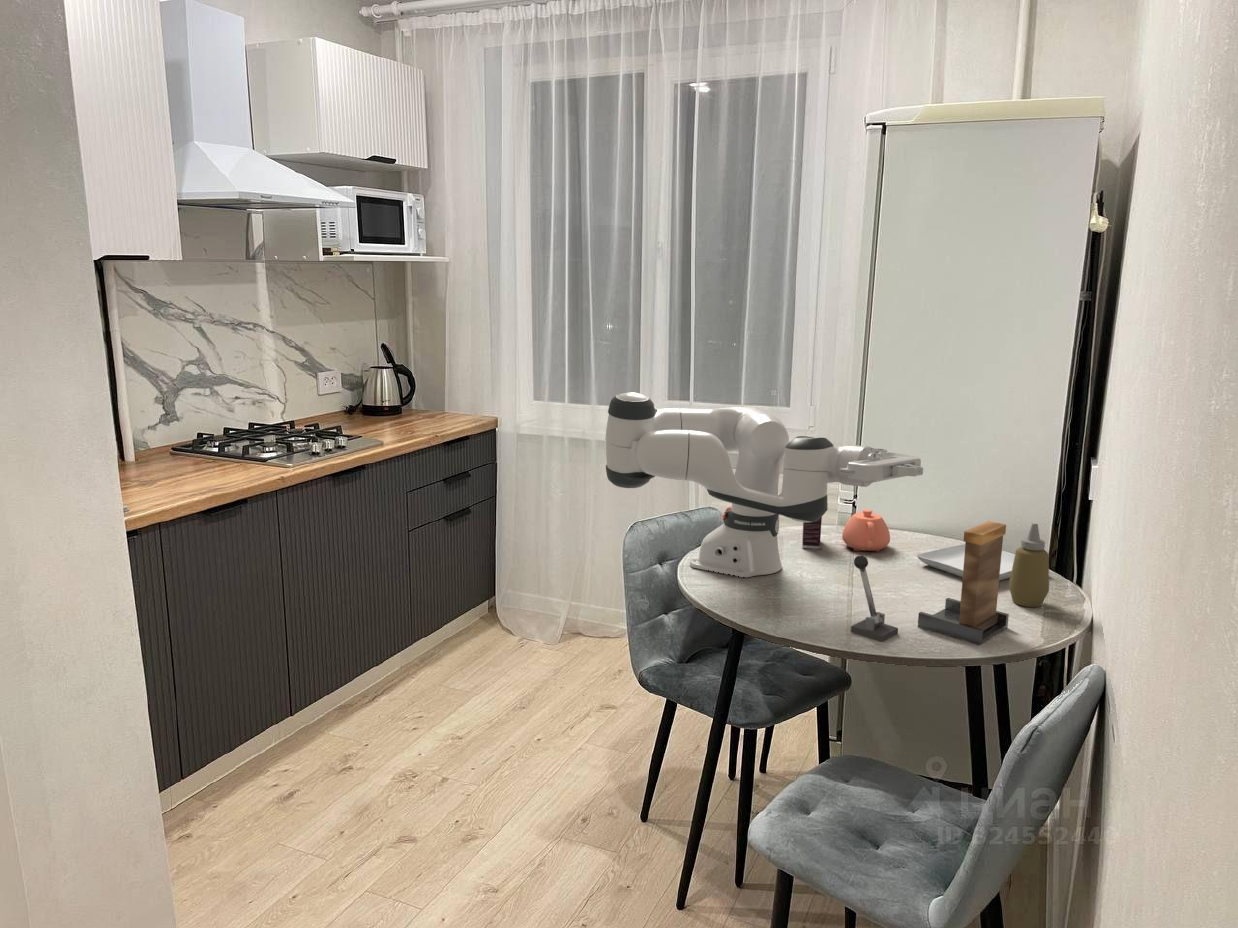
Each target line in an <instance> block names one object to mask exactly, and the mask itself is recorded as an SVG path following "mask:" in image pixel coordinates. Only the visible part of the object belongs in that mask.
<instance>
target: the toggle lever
mask: <svg viewBox="0 0 1238 928" xmlns="http://www.w3.org/2000/svg"><path fill="white" fill-rule="evenodd" d="M853 564H854V567H855V568H857V569H859V573H860V576H861V581H862V584H863V588H864V595H865V597H866V601H867V606H868V609H869V614H870V616H869V617H870V618H874V619H875V625H874V627H875V626H877V625H879V624H881V623H882V621H883V619H882V617H881V615H879V614H876V612H877V610H876V606H875V602H874V598H873V594H872V589H871V586H870V585H871V584H870V581H869V576H868V572H867V567H868V565H869V559H868V558H867V556H865V555H862V554H860V555H857V556H855V558H854V559H853Z"/></svg>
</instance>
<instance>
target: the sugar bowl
mask: <svg viewBox="0 0 1238 928" xmlns="http://www.w3.org/2000/svg"><path fill="white" fill-rule="evenodd" d="M841 538H842V540H843V542H844V544H845V545H846V546H847V547H848V548H852V549H853V551H856V552H861V551H873V552H881V550H884V549H885V548H886V547H888V545H889V544H890V542H891V533H890V531H889V527H888V525H887V524H886V521H885V520H884V518H883V517H882V516H881V515H880V514H877V513H873V510H872V509H866V508H865V509H863V510H862V512H856V513H854V514H852V516H850V518H849V520H847V522H846V523H845V526H844V528H843V531H842V533H841Z"/></svg>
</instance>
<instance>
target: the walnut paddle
mask: <svg viewBox="0 0 1238 928" xmlns="http://www.w3.org/2000/svg"><path fill="white" fill-rule="evenodd" d="M1006 530H1007V524H1004V523H1000V522H995V521H990V520H989V521H986V522H983V523H981V524H979V525H976V526H974V527H971V528H969V529H967V530H965V531H963V532H964V533H963V542H965V543H964V544H965V556H964V568H963V577H962V579H961V580H962V582H961V583H962V584H961V594H960V601H961V605H960V617H959V623H963V624H966V625H970V626H973V627H976V628H980V629H983V631H984V630H986V629H988V628H989V627H991V626H993V625H994V624H996V623H998V615H996V611H997V607H998V596H999V587H1000V586H999V584H1000V580H999V576H1000V565H1001V554H1002V551H1003V541H1004V536H1005V535H1006Z"/></svg>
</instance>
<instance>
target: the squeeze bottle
mask: <svg viewBox="0 0 1238 928" xmlns="http://www.w3.org/2000/svg"><path fill="white" fill-rule="evenodd" d="M1039 530H1040V528H1039V524H1038V523H1031V526H1030V529H1029V531H1028V534H1027V537H1023V538H1022V539H1021V540H1020V541H1021V543H1020V547H1017V548H1016V550H1015V553H1014V554H1015V558H1014V562H1013V567H1012V572H1011V577H1010V578H1009V582H1008V588H1009V592H1010V595H1011V599H1012V600H1011V601H1012V602H1013V603H1014V604H1016V605H1019V606H1022V607H1027V608H1037V607H1038V608H1039V607H1041V606H1042V605H1043V603H1044V601H1045V600H1046V597H1047V595H1048V593H1049V591H1050V578H1049V577H1050V575H1049V574H1050V573H1049V572H1050V566H1049V564H1050V563H1049V557H1050V555H1049V554H1050V553H1049V552H1048V551H1046V550H1045V546H1046V545H1045V544H1046V541H1045V540H1043V539H1041V538H1040V537H1041V536H1040V531H1039Z"/></svg>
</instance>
